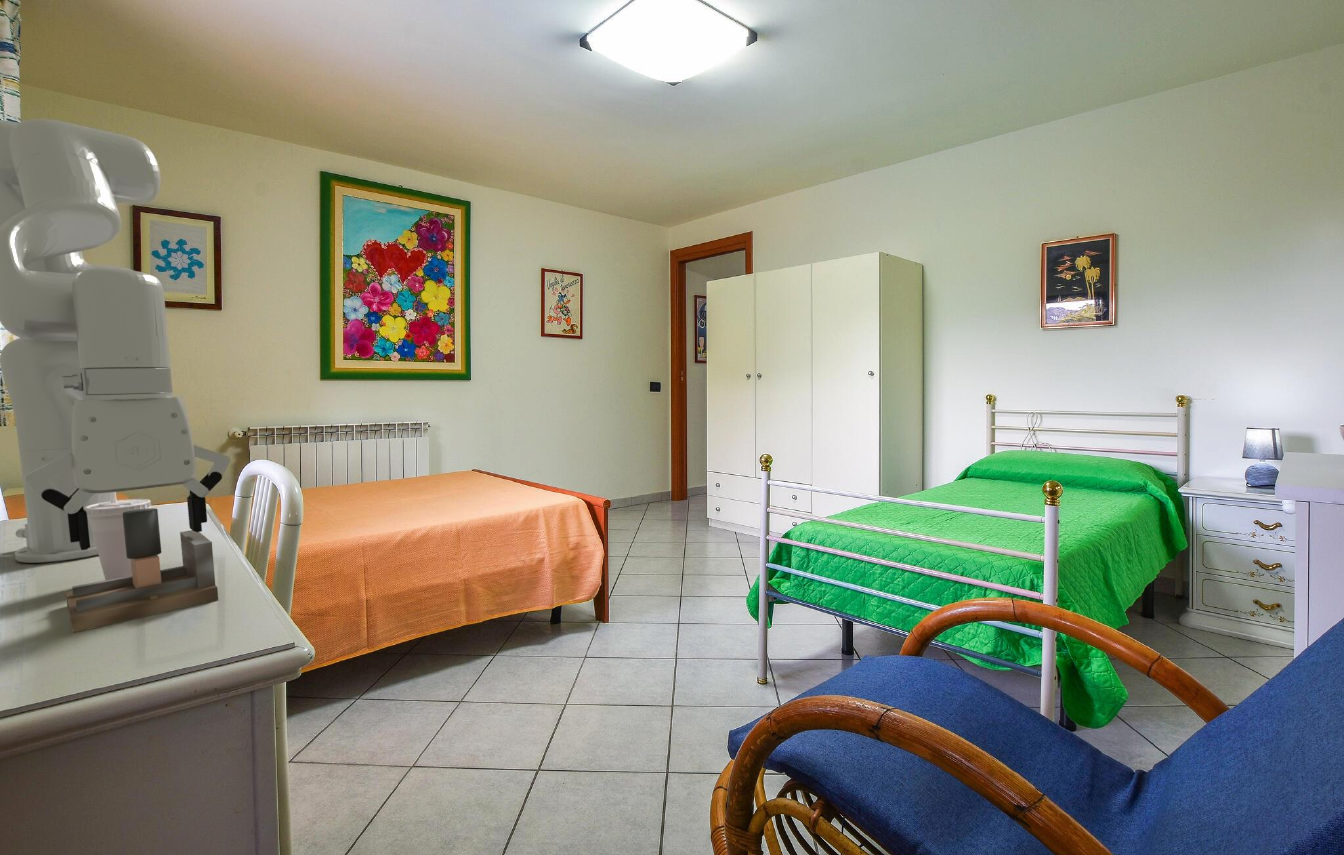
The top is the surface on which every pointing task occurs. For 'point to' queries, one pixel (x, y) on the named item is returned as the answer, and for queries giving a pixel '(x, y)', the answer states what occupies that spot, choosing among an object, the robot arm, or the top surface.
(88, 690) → the top surface
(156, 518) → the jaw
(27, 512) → the robot arm
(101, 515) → the smoothie
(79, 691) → the top surface
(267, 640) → the top surface
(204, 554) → the vise base
